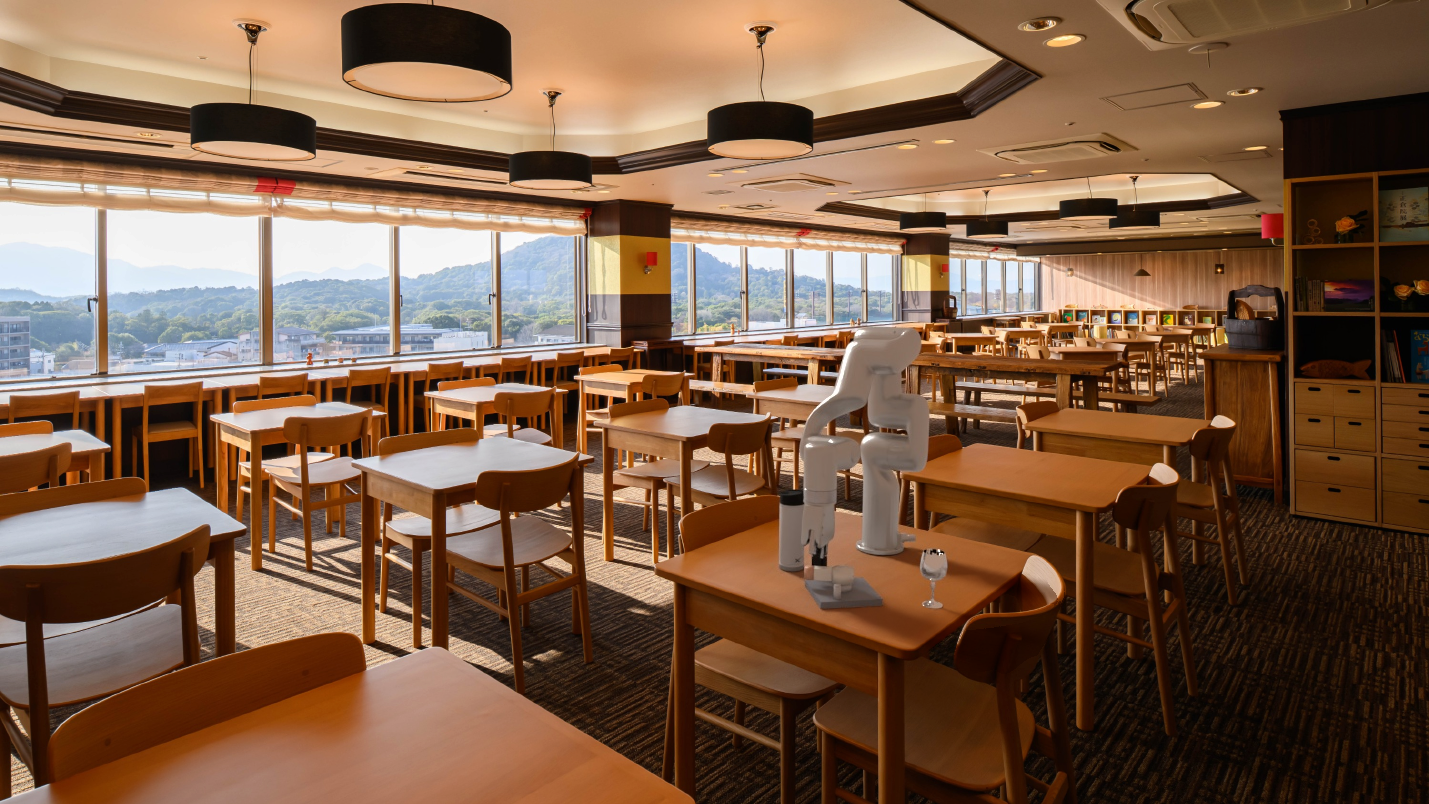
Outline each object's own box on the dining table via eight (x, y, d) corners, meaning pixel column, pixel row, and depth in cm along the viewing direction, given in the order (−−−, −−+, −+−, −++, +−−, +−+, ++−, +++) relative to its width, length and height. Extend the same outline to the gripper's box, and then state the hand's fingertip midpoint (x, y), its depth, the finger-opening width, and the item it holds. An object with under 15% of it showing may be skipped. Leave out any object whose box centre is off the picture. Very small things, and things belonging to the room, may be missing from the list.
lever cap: (853, 578, 181) (854, 565, 180) (854, 585, 176) (854, 572, 175) (804, 575, 182) (804, 563, 182) (803, 583, 177) (803, 570, 177)
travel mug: (804, 572, 194) (805, 493, 191) (777, 570, 195) (778, 492, 193) (806, 564, 200) (807, 487, 198) (780, 562, 201) (781, 486, 199)
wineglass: (915, 600, 176) (916, 548, 175) (940, 599, 176) (942, 547, 175) (924, 610, 170) (925, 556, 169) (949, 609, 171) (951, 555, 169)
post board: (862, 583, 187) (862, 564, 186) (882, 605, 173) (883, 585, 172) (804, 585, 185) (805, 567, 184) (820, 608, 171) (820, 588, 171)
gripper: (816, 486, 188) (815, 560, 191) (792, 501, 175) (791, 580, 178) (846, 490, 185) (845, 565, 187) (824, 505, 172) (823, 586, 174)
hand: (819, 572), depth 182 cm, fingers closed
